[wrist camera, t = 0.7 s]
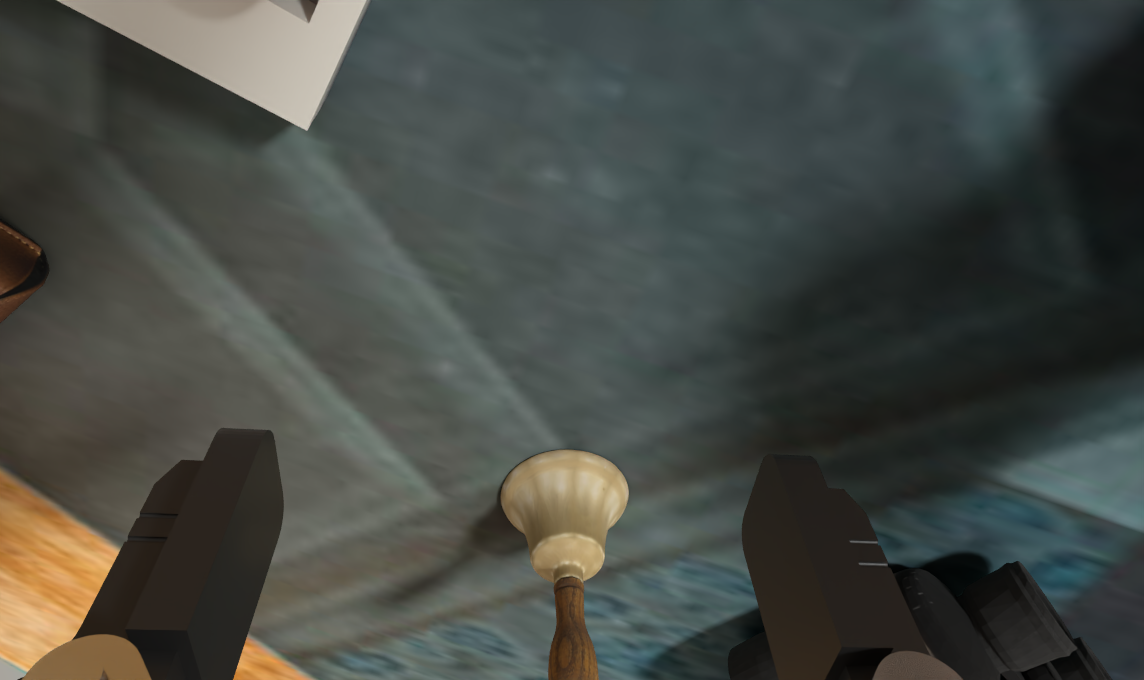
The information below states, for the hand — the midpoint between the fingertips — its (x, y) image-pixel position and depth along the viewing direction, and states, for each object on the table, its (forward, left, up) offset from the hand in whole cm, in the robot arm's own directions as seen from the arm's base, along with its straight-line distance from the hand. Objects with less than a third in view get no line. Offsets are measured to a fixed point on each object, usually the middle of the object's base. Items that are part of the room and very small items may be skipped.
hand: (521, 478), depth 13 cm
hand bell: (+23, +17, -27) cm, 39 cm away
